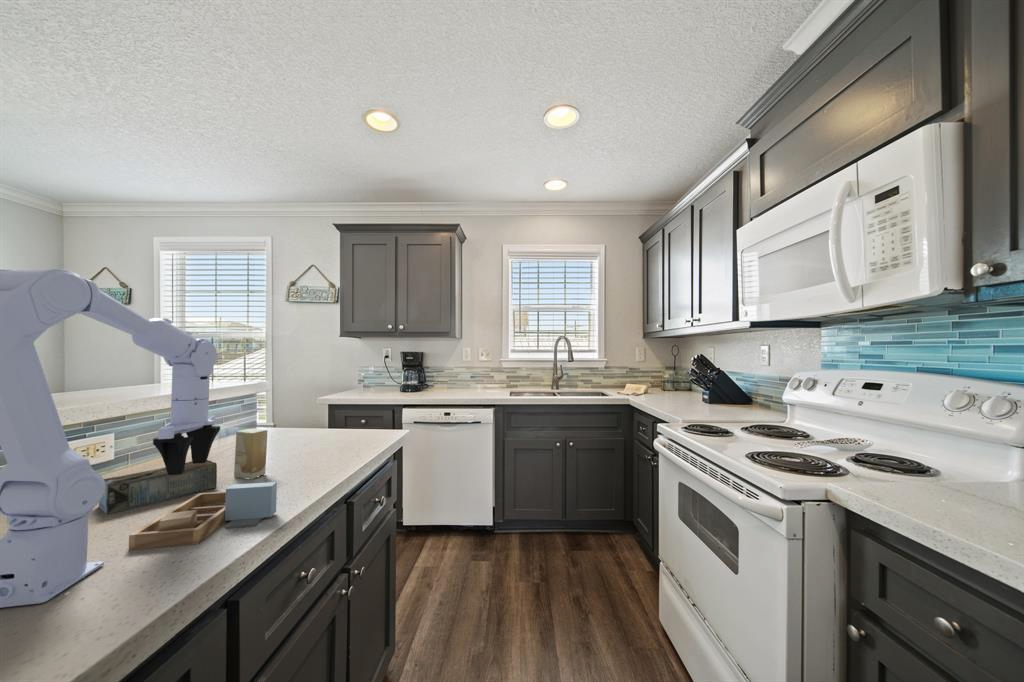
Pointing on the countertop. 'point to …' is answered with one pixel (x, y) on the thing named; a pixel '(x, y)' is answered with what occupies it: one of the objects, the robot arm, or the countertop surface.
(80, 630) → the countertop surface
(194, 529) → the tray
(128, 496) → the beverage carton
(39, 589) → the robot arm
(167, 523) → the offcut upper
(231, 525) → the mat
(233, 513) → the pale blue block
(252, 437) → the skincare box
